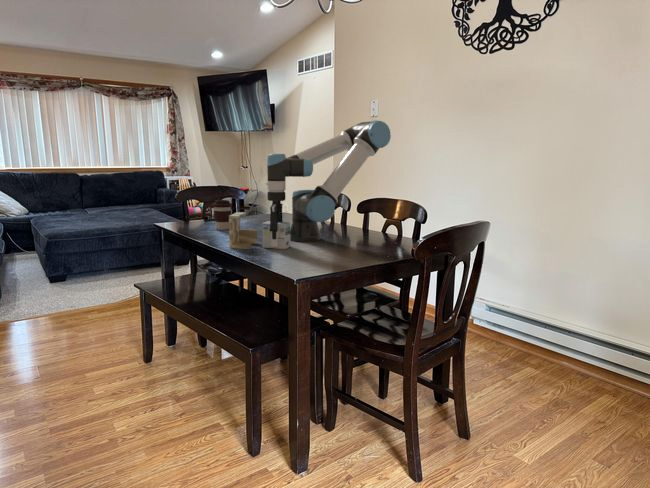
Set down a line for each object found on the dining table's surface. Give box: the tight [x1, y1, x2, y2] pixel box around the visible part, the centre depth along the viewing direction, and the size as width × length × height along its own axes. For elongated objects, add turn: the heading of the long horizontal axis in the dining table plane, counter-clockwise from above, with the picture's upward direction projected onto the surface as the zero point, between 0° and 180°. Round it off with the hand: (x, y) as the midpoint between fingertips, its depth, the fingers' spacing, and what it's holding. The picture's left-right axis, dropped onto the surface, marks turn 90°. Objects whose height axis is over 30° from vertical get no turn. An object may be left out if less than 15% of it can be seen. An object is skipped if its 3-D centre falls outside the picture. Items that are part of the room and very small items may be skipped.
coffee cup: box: [211, 199, 233, 231], centre depth 236 cm, size 10×10×15 cm
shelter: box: [228, 211, 259, 250], centre depth 196 cm, size 12×9×14 cm
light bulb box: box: [261, 220, 291, 250], centre depth 194 cm, size 11×7×11 cm, turn 76°
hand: (276, 244), depth 195 cm, fingers closed on light bulb box, 7 cm apart
